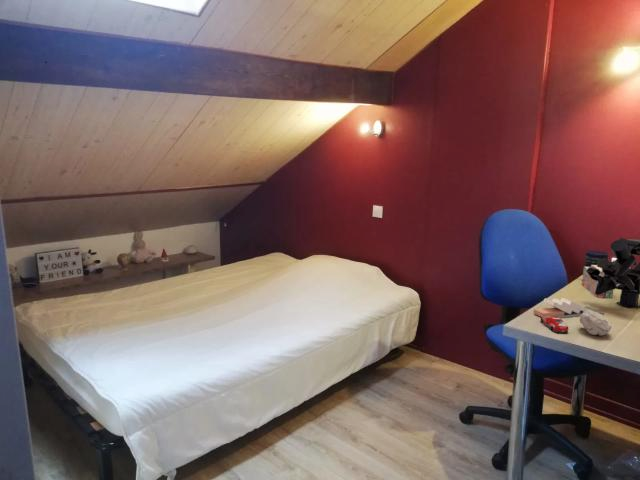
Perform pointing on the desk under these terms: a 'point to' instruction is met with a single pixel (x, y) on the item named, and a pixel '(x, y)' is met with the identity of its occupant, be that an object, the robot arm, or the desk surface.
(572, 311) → the domino mat
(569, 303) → the domino
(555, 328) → the race car
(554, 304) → the domino
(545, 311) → the domino
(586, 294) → the desk surface
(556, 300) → the domino
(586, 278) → the stack of blocks
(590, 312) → the fossil replica
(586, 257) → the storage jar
